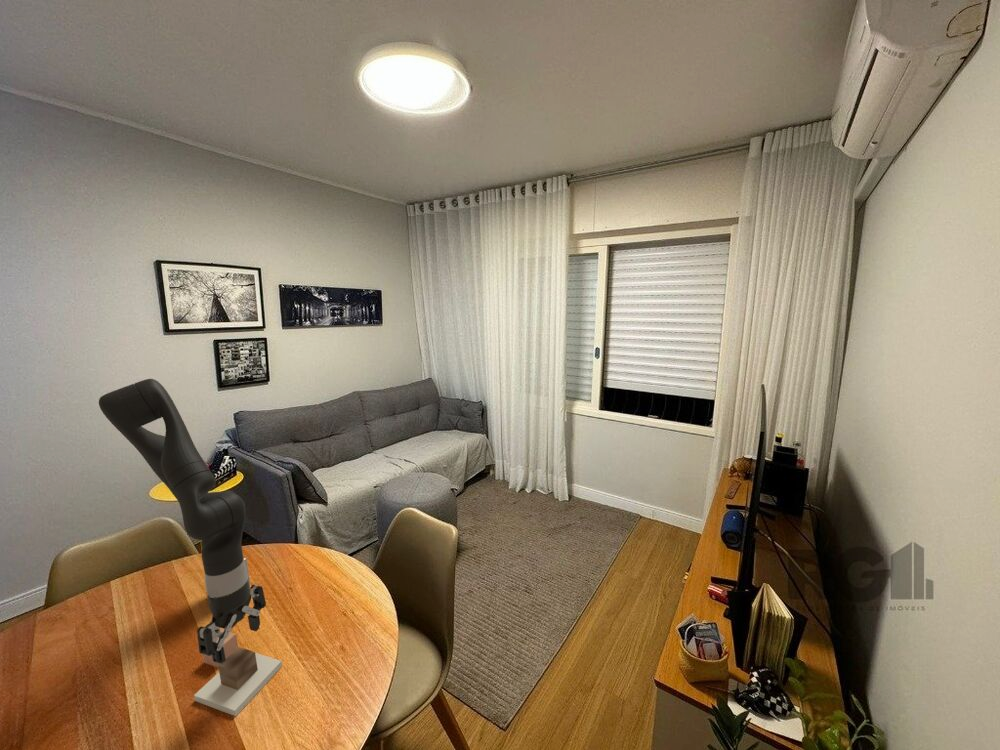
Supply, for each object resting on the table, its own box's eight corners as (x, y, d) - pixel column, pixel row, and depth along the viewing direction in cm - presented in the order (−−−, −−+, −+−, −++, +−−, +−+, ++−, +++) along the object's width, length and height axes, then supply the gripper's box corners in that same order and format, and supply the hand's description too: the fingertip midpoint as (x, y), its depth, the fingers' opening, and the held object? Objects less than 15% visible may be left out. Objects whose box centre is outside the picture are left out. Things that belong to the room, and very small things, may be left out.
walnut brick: (241, 664, 91) (238, 646, 91) (257, 670, 90) (255, 651, 89) (221, 684, 87) (218, 665, 86) (237, 690, 85) (234, 671, 84)
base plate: (244, 654, 96) (243, 649, 96) (282, 666, 92) (281, 660, 92) (194, 700, 85) (193, 695, 84) (235, 716, 81) (234, 710, 81)
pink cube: (224, 646, 98) (221, 629, 98) (238, 650, 97) (236, 633, 96) (204, 663, 94) (201, 645, 93) (219, 668, 92) (216, 650, 91)
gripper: (243, 559, 92) (252, 617, 95) (181, 604, 79) (194, 669, 82) (268, 564, 90) (277, 623, 93) (208, 611, 77) (221, 678, 80)
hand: (238, 644), depth 87 cm, fingers open, 8 cm apart
